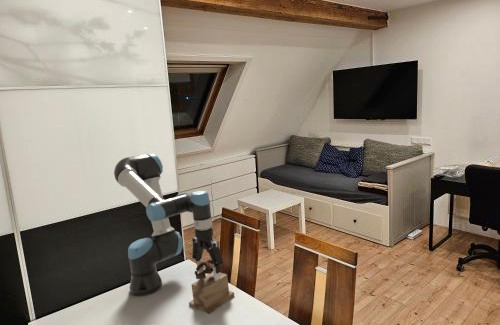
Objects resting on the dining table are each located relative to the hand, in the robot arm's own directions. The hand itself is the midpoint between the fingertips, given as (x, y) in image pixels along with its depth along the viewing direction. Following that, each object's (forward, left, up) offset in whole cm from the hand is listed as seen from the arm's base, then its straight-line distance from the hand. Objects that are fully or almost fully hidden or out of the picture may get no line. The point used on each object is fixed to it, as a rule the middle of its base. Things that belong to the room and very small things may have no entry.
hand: (209, 276), depth 151 cm
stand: (0, 0, -11) cm, 11 cm away
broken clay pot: (-1, 0, -1) cm, 1 cm away
